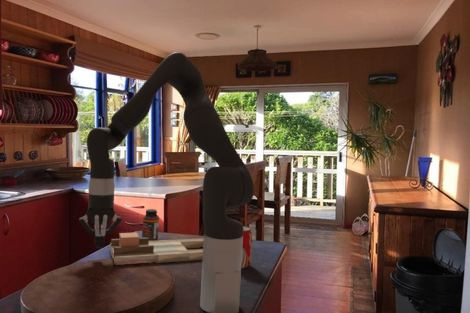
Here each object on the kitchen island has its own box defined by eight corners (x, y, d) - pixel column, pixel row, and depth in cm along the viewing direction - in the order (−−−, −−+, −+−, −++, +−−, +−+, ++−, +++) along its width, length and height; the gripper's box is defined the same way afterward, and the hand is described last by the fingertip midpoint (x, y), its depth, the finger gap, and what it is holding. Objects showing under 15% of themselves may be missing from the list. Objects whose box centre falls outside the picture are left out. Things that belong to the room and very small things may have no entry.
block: (138, 250, 124) (139, 236, 124) (120, 251, 122) (121, 237, 122) (136, 246, 129) (136, 232, 129) (118, 246, 127) (119, 233, 127)
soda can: (248, 270, 119) (250, 231, 118) (225, 267, 120) (228, 229, 120) (252, 263, 126) (254, 226, 125) (230, 260, 127) (232, 224, 127)
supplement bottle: (138, 241, 144) (140, 210, 144) (146, 237, 150) (148, 207, 149) (153, 243, 143) (154, 212, 142) (160, 239, 148) (162, 209, 148)
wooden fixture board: (224, 258, 130) (225, 244, 130) (114, 265, 117) (114, 250, 116) (209, 244, 145) (209, 232, 144) (110, 250, 131) (110, 236, 131)
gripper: (78, 194, 115) (76, 252, 116) (125, 194, 121) (122, 249, 121) (78, 190, 122) (76, 245, 123) (122, 190, 127) (120, 243, 128)
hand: (99, 247), depth 122 cm, fingers closed
